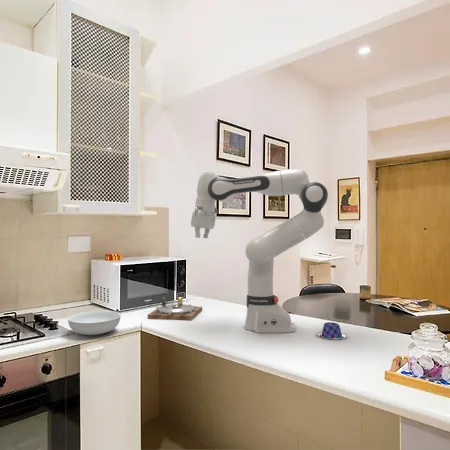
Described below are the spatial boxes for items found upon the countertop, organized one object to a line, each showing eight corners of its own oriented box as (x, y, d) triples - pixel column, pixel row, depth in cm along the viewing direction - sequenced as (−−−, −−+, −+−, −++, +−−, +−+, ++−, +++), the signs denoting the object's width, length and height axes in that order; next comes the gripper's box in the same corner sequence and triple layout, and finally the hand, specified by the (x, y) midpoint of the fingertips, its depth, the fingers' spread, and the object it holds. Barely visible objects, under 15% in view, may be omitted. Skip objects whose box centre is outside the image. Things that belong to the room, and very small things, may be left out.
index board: (202, 310, 196) (202, 297, 196) (191, 320, 174) (191, 305, 174) (162, 309, 200) (162, 296, 200) (147, 318, 178) (147, 304, 178)
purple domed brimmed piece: (347, 342, 140) (347, 328, 140) (315, 339, 144) (314, 326, 144) (347, 334, 151) (347, 321, 151) (317, 331, 155) (317, 319, 155)
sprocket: (200, 306, 196) (200, 296, 196) (190, 315, 175) (190, 304, 175) (163, 305, 199) (163, 295, 199) (149, 313, 178) (149, 303, 178)
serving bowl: (56, 337, 147) (56, 320, 148) (89, 324, 167) (89, 309, 168) (100, 341, 141) (101, 323, 141) (130, 328, 161) (130, 312, 161)
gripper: (202, 205, 158) (199, 238, 158) (218, 210, 177) (215, 239, 177) (189, 204, 160) (185, 236, 160) (206, 209, 179) (203, 237, 179)
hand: (201, 237), depth 168 cm, fingers open, 8 cm apart
